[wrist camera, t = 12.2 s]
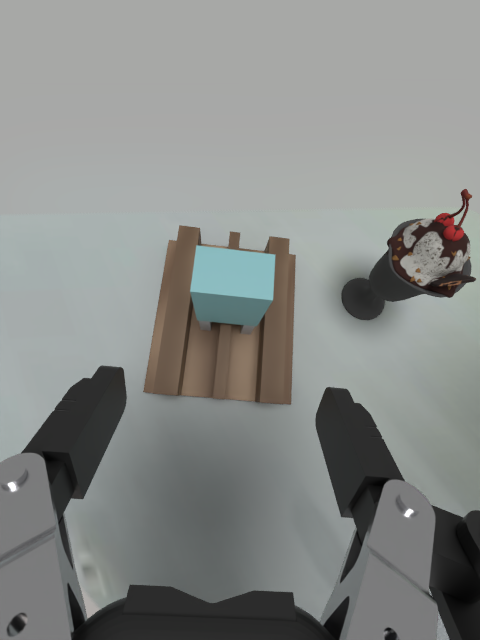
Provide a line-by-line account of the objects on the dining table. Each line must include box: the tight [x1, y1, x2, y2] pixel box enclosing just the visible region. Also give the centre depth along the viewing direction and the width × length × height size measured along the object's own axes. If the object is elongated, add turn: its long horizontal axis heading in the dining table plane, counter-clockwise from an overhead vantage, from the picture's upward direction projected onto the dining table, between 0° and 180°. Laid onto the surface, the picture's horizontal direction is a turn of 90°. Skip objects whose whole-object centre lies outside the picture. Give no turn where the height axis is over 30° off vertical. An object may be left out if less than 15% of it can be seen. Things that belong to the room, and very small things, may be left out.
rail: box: [143, 225, 296, 404], centre depth 27 cm, size 14×16×4 cm
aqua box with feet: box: [190, 245, 275, 335], centre depth 23 cm, size 5×3×11 cm, turn 85°
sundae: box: [342, 189, 476, 320], centre depth 24 cm, size 7×7×15 cm
